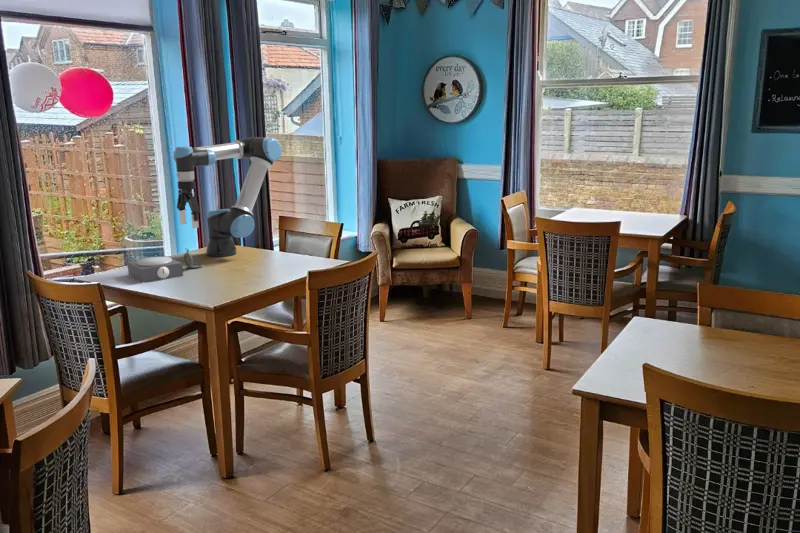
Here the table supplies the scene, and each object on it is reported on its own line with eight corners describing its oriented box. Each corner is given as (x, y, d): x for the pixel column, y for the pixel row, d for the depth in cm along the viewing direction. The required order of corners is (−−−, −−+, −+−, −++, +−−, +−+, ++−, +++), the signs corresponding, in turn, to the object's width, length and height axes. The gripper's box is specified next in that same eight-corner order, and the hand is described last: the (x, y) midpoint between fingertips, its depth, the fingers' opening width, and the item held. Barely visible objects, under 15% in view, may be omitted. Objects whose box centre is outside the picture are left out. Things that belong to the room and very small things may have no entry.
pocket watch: (204, 265, 325) (203, 245, 322) (197, 270, 316) (196, 249, 314) (188, 265, 325) (186, 245, 323) (181, 269, 317) (179, 248, 315)
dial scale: (128, 275, 308) (127, 260, 306) (167, 268, 319) (166, 254, 317) (143, 283, 294) (142, 267, 292) (183, 276, 305) (182, 261, 303)
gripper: (167, 178, 318) (171, 223, 323) (189, 183, 299) (193, 230, 304) (182, 177, 323) (186, 221, 328) (205, 182, 304) (208, 228, 309)
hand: (189, 226), depth 316 cm, fingers open, 13 cm apart
